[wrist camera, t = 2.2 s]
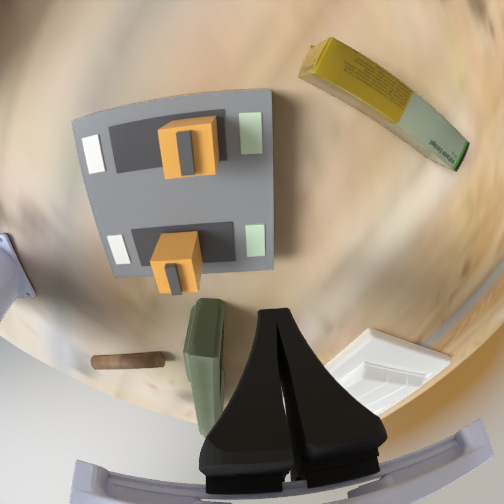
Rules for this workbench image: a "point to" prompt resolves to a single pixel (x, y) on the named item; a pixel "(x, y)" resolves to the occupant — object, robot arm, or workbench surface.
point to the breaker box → (182, 182)
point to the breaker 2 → (177, 263)
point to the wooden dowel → (128, 361)
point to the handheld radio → (206, 361)
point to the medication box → (384, 100)
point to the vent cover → (384, 369)
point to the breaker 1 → (189, 147)
